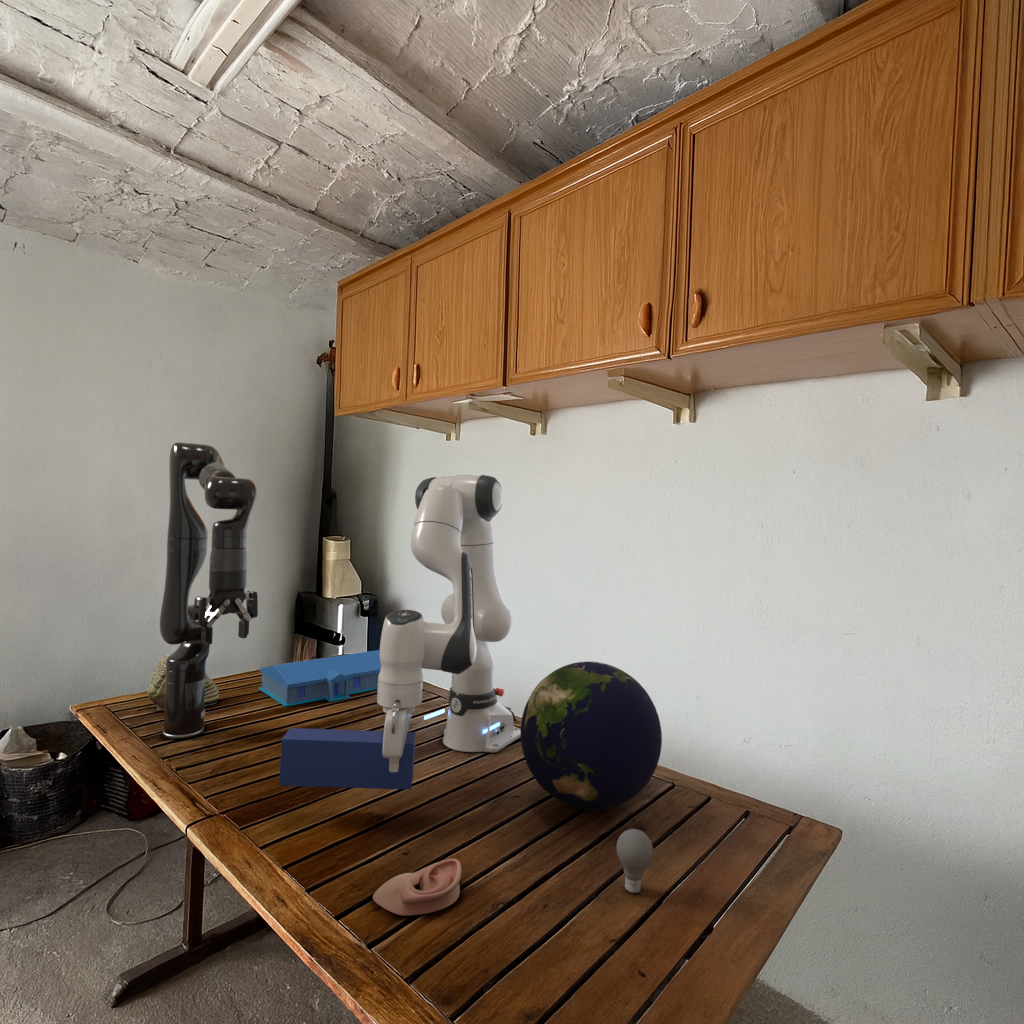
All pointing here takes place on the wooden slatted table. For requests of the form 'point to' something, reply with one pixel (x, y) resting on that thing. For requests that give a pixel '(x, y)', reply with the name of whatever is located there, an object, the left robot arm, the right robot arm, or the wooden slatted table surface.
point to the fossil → (158, 687)
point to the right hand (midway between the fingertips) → (396, 762)
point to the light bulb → (634, 857)
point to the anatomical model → (421, 889)
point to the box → (342, 760)
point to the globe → (591, 735)
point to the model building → (322, 678)
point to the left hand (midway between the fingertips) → (225, 640)
